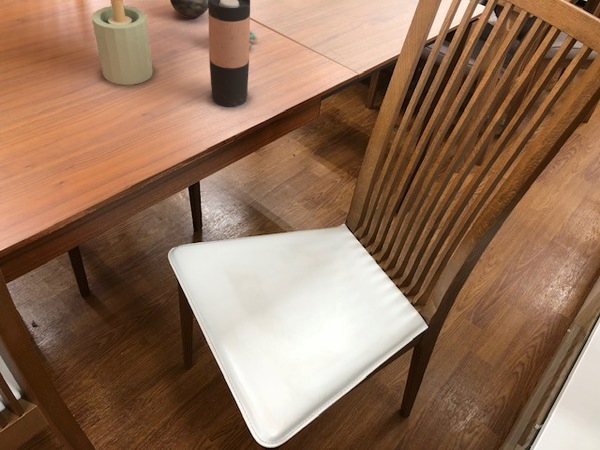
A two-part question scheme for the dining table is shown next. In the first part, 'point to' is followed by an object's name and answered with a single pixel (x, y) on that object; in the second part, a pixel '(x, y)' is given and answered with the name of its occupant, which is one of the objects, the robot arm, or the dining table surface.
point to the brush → (118, 14)
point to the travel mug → (229, 50)
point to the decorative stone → (190, 7)
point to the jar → (123, 46)
